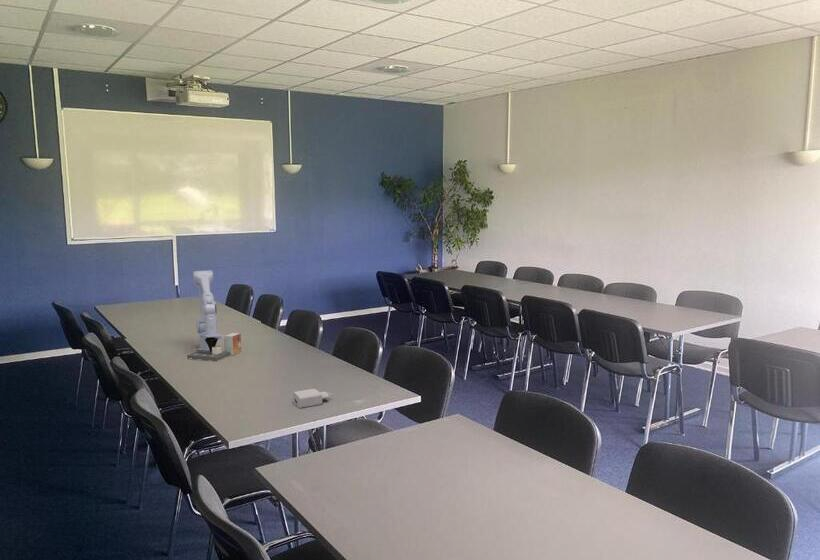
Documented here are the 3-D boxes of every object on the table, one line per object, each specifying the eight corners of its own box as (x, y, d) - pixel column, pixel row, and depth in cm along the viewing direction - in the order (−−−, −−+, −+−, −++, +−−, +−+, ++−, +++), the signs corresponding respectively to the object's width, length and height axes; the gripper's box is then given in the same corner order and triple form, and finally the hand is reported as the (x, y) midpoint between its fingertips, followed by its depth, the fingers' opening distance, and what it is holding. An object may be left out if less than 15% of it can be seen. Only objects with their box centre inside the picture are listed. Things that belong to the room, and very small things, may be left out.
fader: (217, 352, 317) (216, 345, 316) (221, 352, 316) (221, 345, 316) (212, 354, 313) (211, 347, 313) (217, 354, 312) (216, 347, 312)
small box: (233, 355, 319) (232, 336, 317) (224, 354, 321) (223, 335, 319) (241, 352, 326) (241, 333, 325) (233, 351, 328) (232, 332, 327)
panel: (201, 353, 325) (201, 349, 324) (230, 355, 319) (230, 351, 319) (187, 358, 313) (187, 354, 313) (216, 361, 308) (216, 357, 308)
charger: (335, 402, 244) (300, 409, 236) (327, 396, 252) (292, 402, 245) (335, 391, 243) (299, 397, 236) (327, 385, 251) (292, 391, 244)
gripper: (194, 326, 312) (195, 352, 314) (218, 328, 307) (219, 354, 309) (202, 324, 318) (204, 349, 320) (226, 325, 314) (227, 350, 316)
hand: (212, 351), depth 315 cm, fingers closed
